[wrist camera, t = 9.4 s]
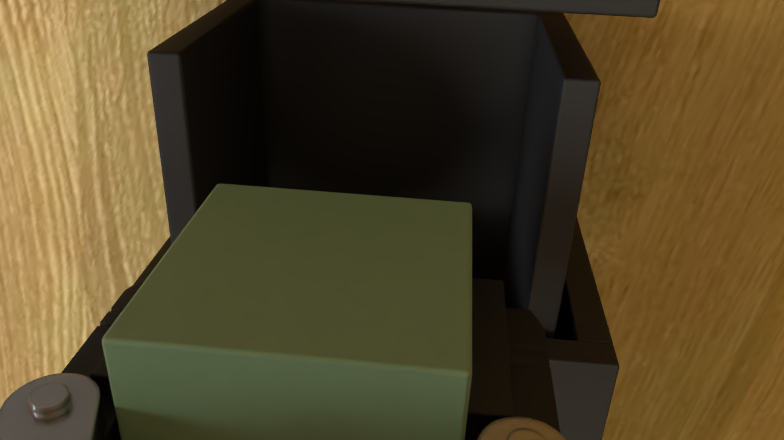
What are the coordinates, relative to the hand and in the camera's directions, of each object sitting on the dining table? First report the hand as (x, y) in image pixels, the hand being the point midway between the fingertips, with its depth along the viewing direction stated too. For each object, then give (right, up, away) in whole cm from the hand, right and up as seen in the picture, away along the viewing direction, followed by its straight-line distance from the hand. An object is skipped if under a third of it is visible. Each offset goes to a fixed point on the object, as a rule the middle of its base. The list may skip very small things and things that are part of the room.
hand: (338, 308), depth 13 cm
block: (0, 0, 0) cm, 0 cm away
